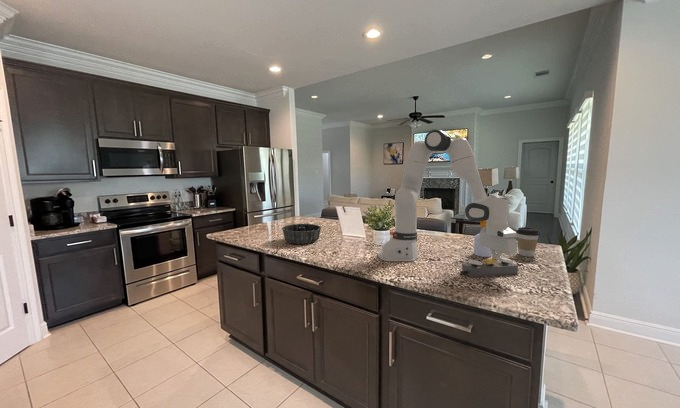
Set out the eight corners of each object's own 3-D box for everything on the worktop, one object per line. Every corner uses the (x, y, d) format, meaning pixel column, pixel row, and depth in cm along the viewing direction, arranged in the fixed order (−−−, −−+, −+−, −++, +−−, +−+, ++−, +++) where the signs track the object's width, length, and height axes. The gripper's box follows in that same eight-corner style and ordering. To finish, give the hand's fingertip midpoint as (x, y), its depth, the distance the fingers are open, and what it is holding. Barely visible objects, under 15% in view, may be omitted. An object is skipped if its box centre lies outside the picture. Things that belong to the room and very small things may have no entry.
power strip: (465, 277, 127) (465, 268, 127) (456, 272, 134) (456, 263, 134) (517, 273, 132) (518, 264, 132) (506, 268, 139) (506, 259, 139)
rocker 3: (503, 261, 132) (504, 259, 132) (498, 259, 136) (498, 257, 135) (512, 263, 133) (513, 260, 133) (507, 261, 137) (507, 258, 137)
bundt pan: (328, 239, 199) (328, 225, 197) (305, 248, 176) (304, 232, 175) (299, 235, 212) (299, 222, 211) (274, 243, 190) (273, 228, 189)
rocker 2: (487, 264, 131) (487, 261, 131) (483, 262, 134) (482, 259, 134) (497, 262, 132) (497, 260, 132) (492, 260, 135) (492, 258, 135)
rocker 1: (472, 264, 130) (473, 261, 129) (468, 261, 133) (468, 259, 133) (482, 265, 131) (482, 263, 130) (477, 263, 134) (478, 260, 134)
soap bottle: (473, 255, 160) (475, 212, 157) (474, 251, 168) (476, 210, 165) (491, 258, 156) (494, 213, 153) (491, 253, 164) (493, 211, 161)
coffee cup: (531, 252, 167) (533, 227, 165) (542, 258, 155) (545, 231, 154) (510, 251, 168) (512, 226, 166) (520, 257, 156) (522, 230, 155)
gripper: (476, 226, 141) (475, 253, 143) (507, 235, 121) (506, 266, 123) (487, 225, 143) (486, 252, 144) (520, 234, 123) (519, 265, 124)
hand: (495, 259), depth 133 cm, fingers closed, pressing on rocker 2
